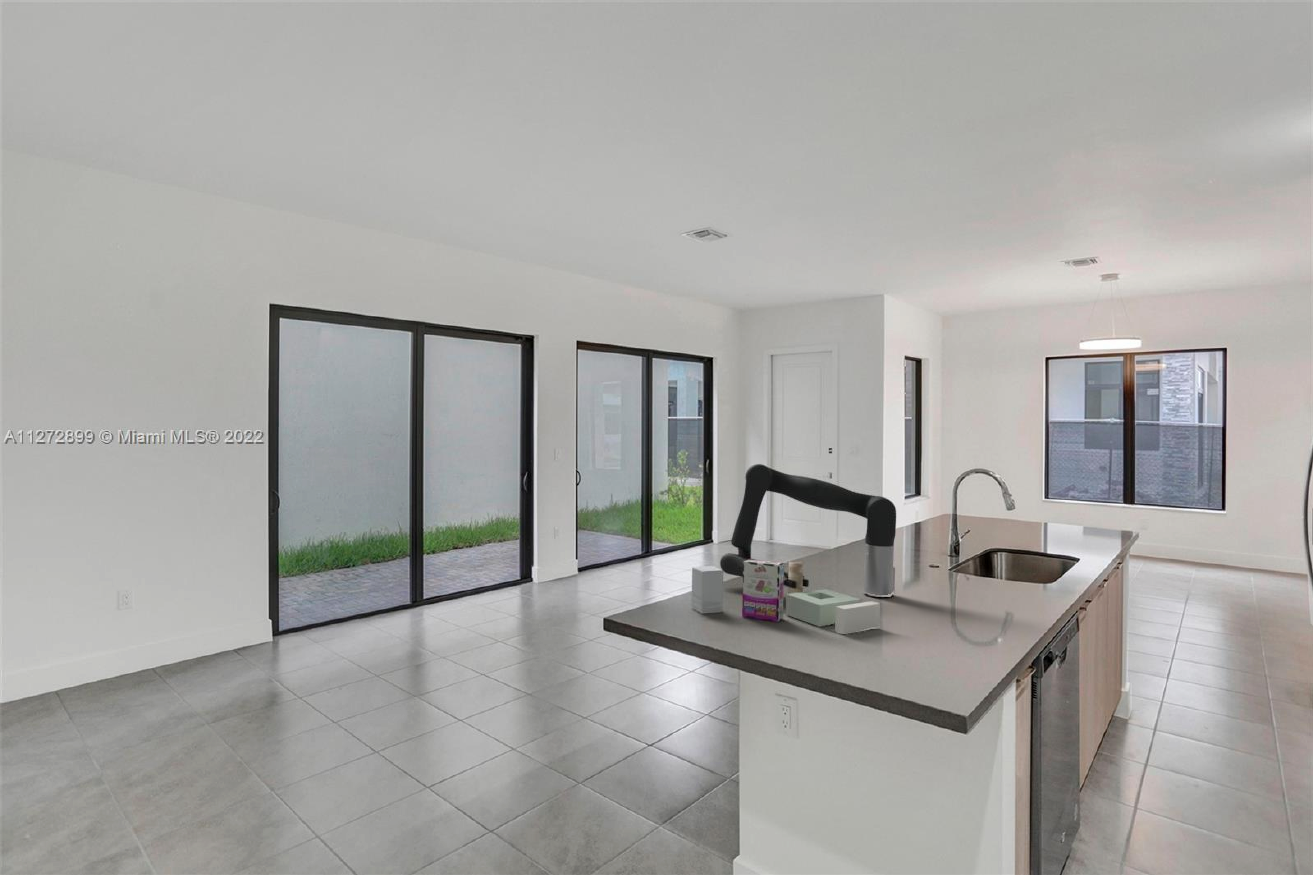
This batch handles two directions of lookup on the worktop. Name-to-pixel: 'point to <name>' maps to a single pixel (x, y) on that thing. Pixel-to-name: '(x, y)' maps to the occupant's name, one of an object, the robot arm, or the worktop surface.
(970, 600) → the worktop surface
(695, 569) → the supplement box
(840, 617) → the backstop board
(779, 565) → the candy bar box
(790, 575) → the birch dowel
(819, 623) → the socket block
